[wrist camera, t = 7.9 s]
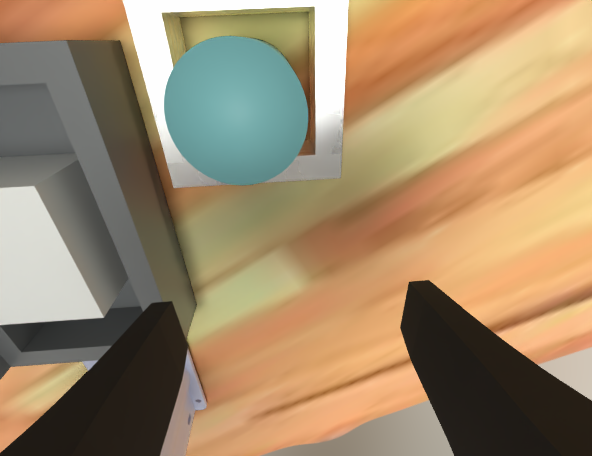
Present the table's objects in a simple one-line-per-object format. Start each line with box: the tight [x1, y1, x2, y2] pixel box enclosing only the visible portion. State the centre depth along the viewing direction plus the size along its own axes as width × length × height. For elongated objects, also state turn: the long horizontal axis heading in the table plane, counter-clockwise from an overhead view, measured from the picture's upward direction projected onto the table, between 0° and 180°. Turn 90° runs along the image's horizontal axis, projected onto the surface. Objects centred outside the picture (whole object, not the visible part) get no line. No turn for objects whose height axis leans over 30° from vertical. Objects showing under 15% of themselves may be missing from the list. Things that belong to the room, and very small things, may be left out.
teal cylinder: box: [164, 36, 308, 185], centre depth 12 cm, size 4×4×7 cm
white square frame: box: [123, 0, 348, 188], centre depth 13 cm, size 8×8×2 cm
